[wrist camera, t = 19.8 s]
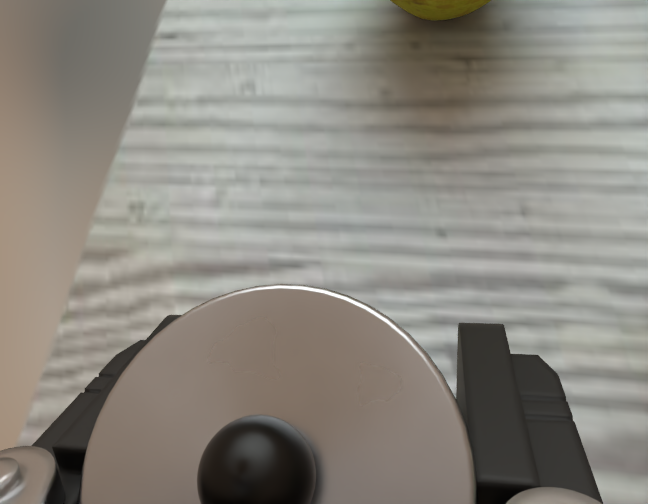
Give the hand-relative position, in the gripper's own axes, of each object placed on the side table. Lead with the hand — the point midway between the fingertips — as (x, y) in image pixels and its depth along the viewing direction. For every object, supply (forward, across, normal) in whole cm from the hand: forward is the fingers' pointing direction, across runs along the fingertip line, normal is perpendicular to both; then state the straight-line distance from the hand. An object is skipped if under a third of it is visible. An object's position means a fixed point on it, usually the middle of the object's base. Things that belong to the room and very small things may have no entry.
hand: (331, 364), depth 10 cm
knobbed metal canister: (+2, 0, +4) cm, 5 cm away
